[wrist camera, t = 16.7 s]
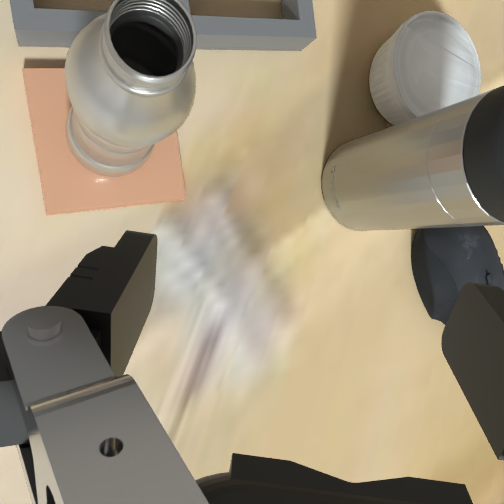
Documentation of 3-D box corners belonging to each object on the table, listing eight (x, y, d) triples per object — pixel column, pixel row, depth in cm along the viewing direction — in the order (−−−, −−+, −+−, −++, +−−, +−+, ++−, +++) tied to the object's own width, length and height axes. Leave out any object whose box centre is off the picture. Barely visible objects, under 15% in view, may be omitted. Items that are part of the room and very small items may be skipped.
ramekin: (431, 27, 50) (471, 4, 45) (451, 128, 51) (492, 116, 46) (348, 39, 46) (381, 14, 41) (372, 148, 47) (407, 137, 42)
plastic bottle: (164, 126, 38) (257, 15, 19) (126, 196, 37) (186, 150, 18) (91, 80, 36) (118, -94, 17) (48, 154, 35) (27, 53, 16)
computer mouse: (444, 194, 51) (485, 188, 46) (548, 409, 58) (593, 425, 53) (386, 240, 48) (423, 239, 43) (503, 460, 56) (547, 482, 50)
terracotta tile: (165, 72, 39) (167, 68, 38) (183, 200, 40) (186, 199, 39) (23, 72, 35) (22, 68, 34) (46, 215, 36) (46, 214, 35)
